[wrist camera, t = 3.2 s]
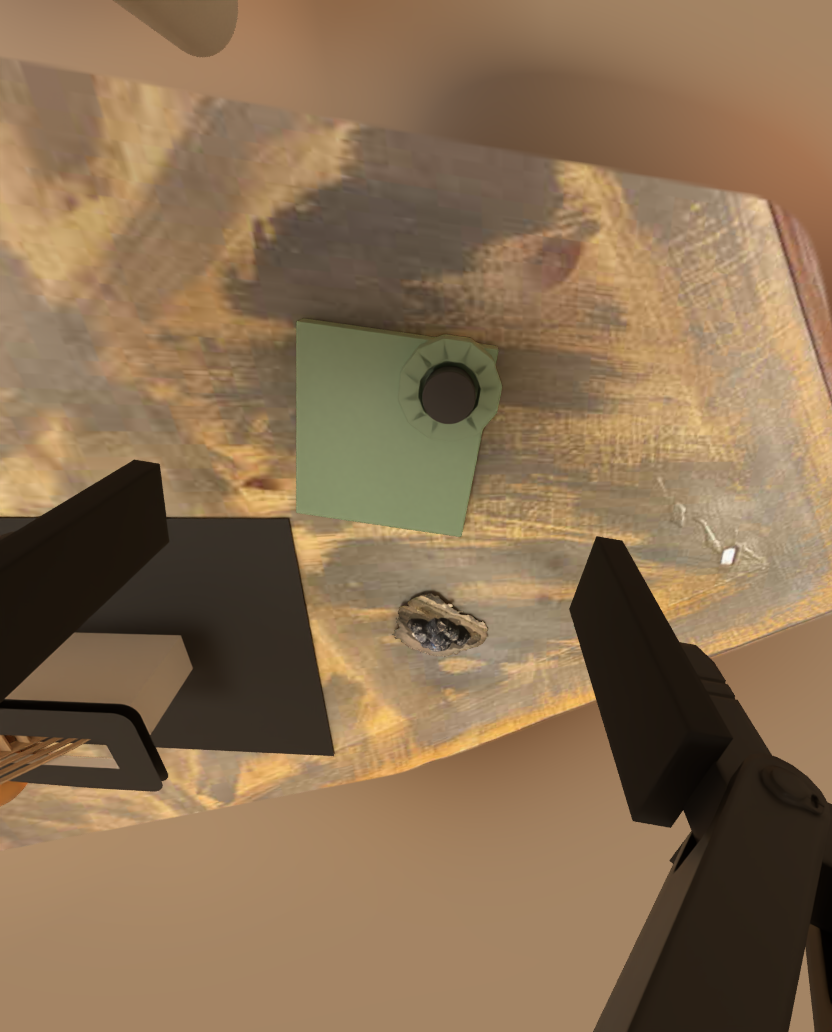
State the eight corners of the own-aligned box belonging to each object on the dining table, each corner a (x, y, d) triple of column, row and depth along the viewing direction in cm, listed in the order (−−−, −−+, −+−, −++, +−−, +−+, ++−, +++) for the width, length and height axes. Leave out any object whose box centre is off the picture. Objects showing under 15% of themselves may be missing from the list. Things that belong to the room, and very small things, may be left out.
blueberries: (403, 582, 38) (400, 597, 37) (500, 603, 39) (502, 619, 37) (388, 643, 42) (385, 659, 40) (478, 662, 42) (478, 679, 40)
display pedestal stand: (22, 740, 53) (-112, 890, 40) (-127, 517, 39) (-397, 639, 27) (334, 756, 50) (292, 923, 37) (288, 518, 36) (198, 658, 24)
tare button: (427, 361, 27) (425, 367, 26) (479, 369, 27) (480, 375, 26) (420, 412, 29) (418, 420, 28) (470, 419, 29) (470, 428, 28)
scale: (302, 310, 29) (287, 316, 26) (506, 339, 29) (510, 347, 26) (301, 504, 36) (289, 524, 33) (467, 528, 36) (468, 550, 33)
